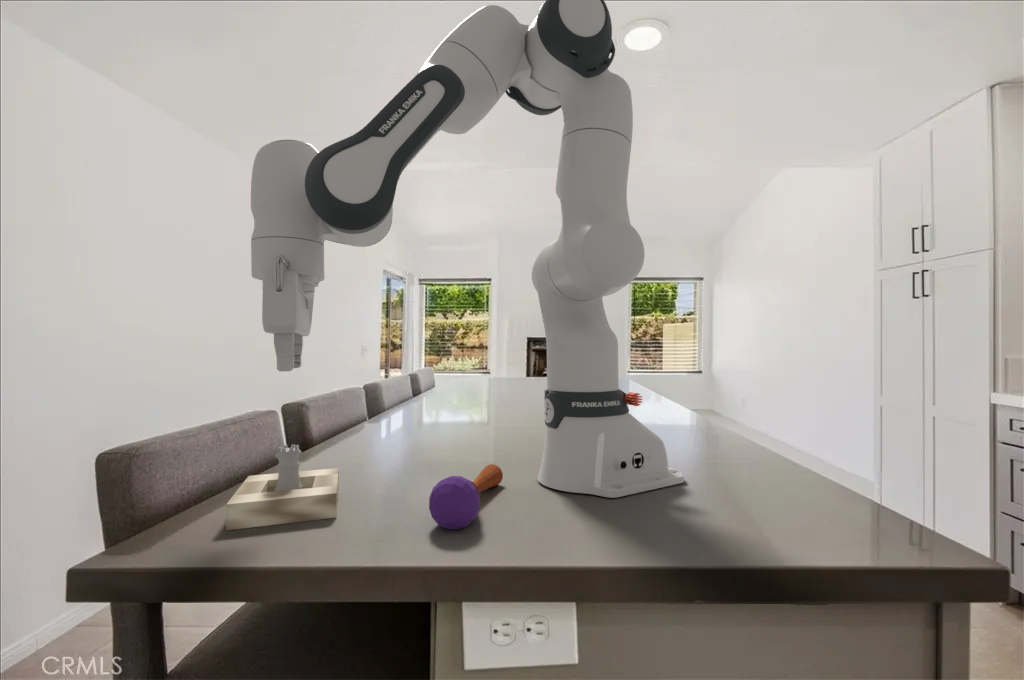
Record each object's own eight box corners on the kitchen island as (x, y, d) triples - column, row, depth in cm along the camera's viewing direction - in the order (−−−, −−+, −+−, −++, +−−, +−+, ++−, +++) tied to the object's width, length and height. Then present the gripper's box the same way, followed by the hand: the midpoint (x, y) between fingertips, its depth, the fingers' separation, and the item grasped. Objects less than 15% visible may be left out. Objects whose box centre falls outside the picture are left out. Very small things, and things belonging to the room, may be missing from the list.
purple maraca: (514, 460, 72) (475, 488, 52) (507, 499, 72) (465, 542, 52) (477, 451, 73) (426, 475, 54) (470, 489, 73) (415, 528, 54)
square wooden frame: (338, 488, 71) (338, 468, 71) (336, 517, 59) (336, 493, 59) (248, 496, 67) (248, 475, 67) (226, 530, 55) (226, 504, 55)
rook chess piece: (291, 514, 60) (290, 450, 60) (261, 511, 61) (261, 449, 61) (314, 502, 65) (314, 443, 65) (286, 500, 66) (286, 442, 66)
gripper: (308, 252, 55) (309, 372, 54) (318, 277, 74) (320, 366, 74) (246, 249, 53) (247, 374, 52) (274, 276, 72) (275, 367, 72)
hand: (290, 369), depth 63 cm, fingers open, 8 cm apart
